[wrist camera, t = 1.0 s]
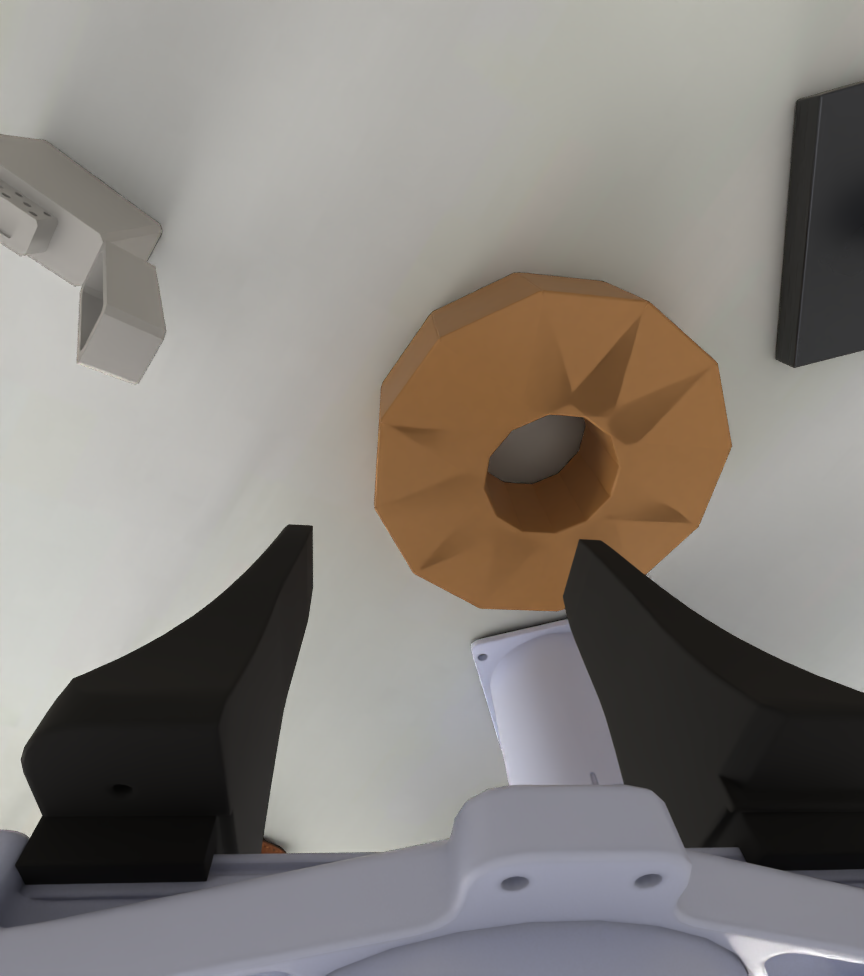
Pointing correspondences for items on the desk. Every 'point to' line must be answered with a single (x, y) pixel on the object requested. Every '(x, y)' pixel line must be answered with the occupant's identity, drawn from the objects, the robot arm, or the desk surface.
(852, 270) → the stand
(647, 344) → the tape roll
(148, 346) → the lighter
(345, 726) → the desk surface
